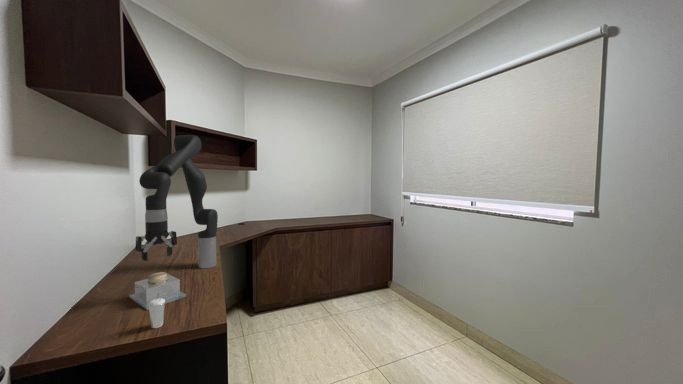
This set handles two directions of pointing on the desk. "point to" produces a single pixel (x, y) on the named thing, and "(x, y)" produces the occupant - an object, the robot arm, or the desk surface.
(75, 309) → the desk surface
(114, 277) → the desk surface
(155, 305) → the milkshake
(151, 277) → the beech pin
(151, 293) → the block
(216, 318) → the desk surface
